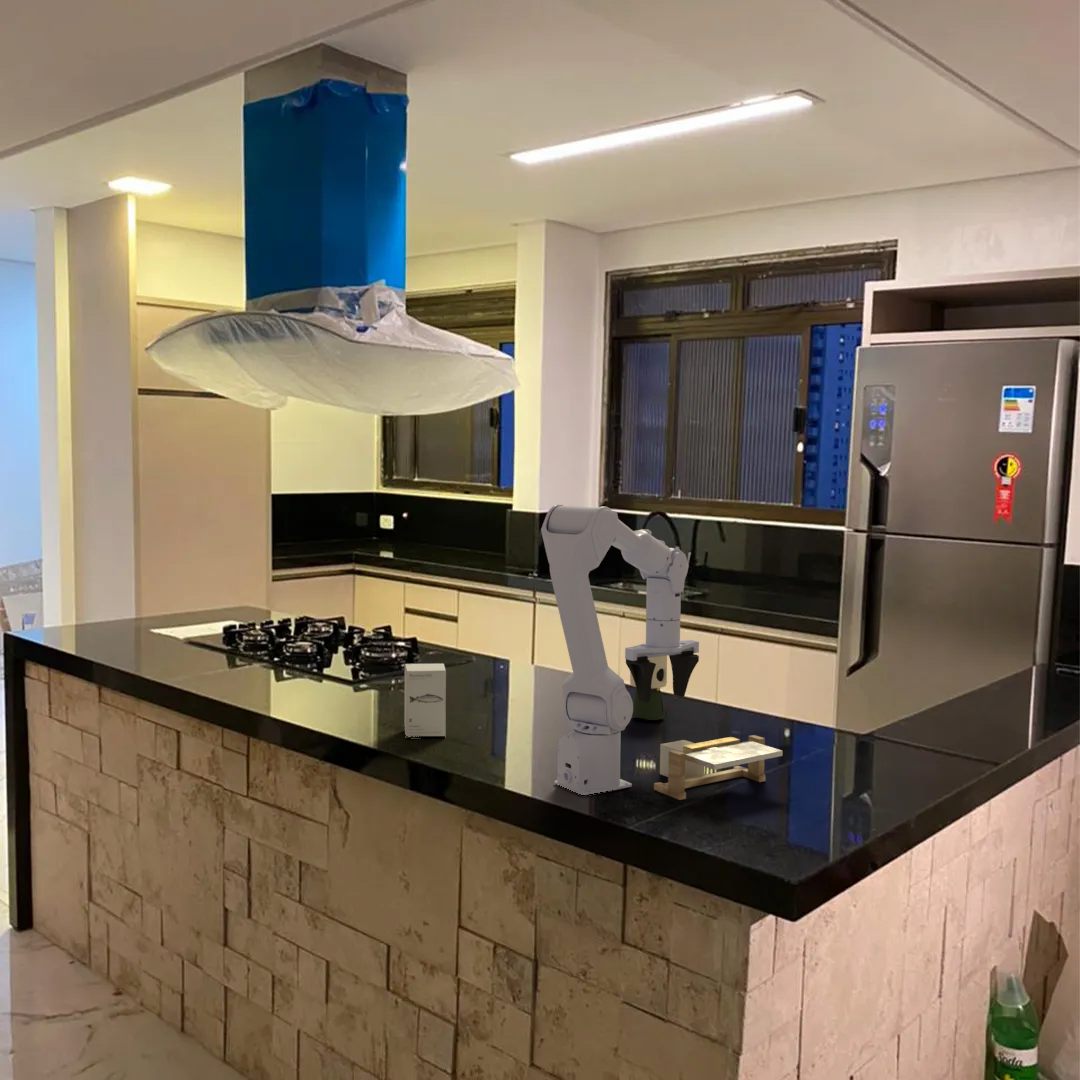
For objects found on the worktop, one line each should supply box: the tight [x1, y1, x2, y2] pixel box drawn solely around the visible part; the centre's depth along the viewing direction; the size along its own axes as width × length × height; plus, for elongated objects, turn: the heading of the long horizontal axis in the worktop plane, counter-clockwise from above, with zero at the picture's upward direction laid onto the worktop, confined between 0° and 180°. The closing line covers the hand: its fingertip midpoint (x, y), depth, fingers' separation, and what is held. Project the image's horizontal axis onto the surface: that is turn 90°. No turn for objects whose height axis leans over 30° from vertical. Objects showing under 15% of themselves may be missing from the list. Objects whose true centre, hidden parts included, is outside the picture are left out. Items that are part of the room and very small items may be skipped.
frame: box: [653, 734, 766, 801], centre depth 169 cm, size 18×6×7 cm, turn 124°
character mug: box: [629, 655, 668, 722], centre depth 212 cm, size 11×7×13 cm, turn 160°
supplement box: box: [403, 663, 447, 737], centre depth 199 cm, size 7×7×13 cm
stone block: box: [659, 739, 705, 779], centre depth 175 cm, size 5×5×5 cm
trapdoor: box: [683, 736, 783, 771], centre depth 166 cm, size 14×9×2 cm, turn 124°
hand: (661, 698), depth 183 cm, fingers open, 7 cm apart
